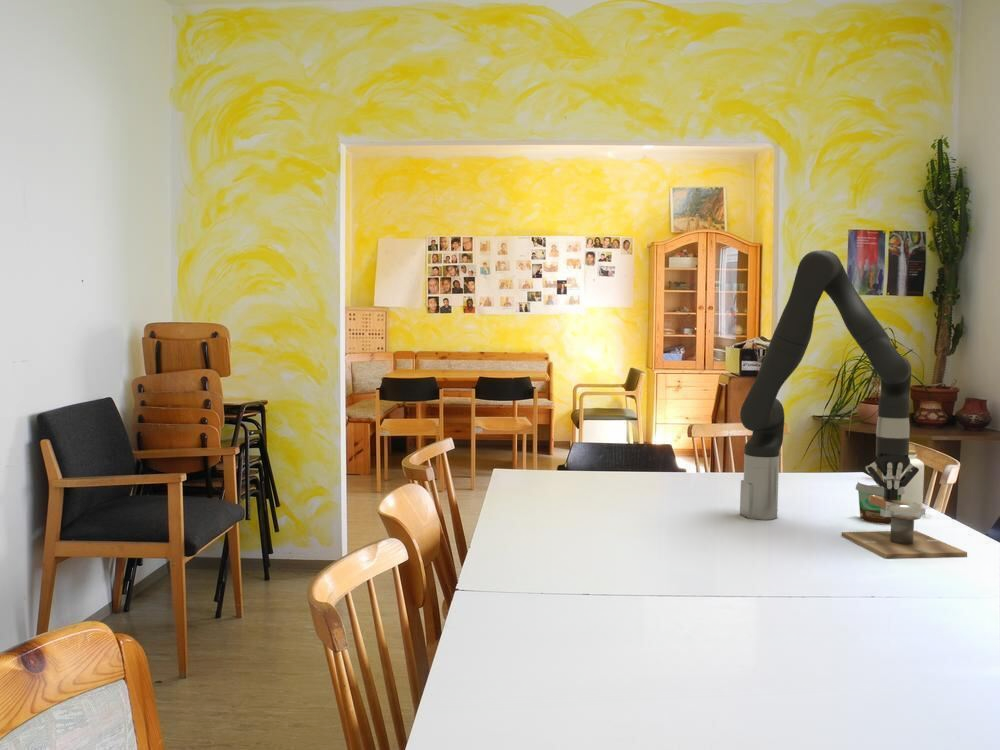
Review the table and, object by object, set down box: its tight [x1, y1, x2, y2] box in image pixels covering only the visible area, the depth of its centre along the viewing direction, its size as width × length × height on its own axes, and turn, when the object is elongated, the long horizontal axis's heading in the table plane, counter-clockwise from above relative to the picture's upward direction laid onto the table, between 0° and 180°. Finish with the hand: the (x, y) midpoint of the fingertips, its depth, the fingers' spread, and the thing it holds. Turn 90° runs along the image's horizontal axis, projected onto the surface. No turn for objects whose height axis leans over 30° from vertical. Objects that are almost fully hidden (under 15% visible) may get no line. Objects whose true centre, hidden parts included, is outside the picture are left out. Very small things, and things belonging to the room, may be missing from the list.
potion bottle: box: [901, 449, 925, 508], centre depth 237 cm, size 8×8×18 cm
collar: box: [868, 495, 926, 521], centre depth 207 cm, size 16×11×3 cm
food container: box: [855, 481, 905, 524], centre depth 228 cm, size 12×6×10 cm, turn 62°
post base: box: [840, 518, 968, 559], centre depth 203 cm, size 20×20×7 cm
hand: (890, 503), depth 212 cm, fingers closed
